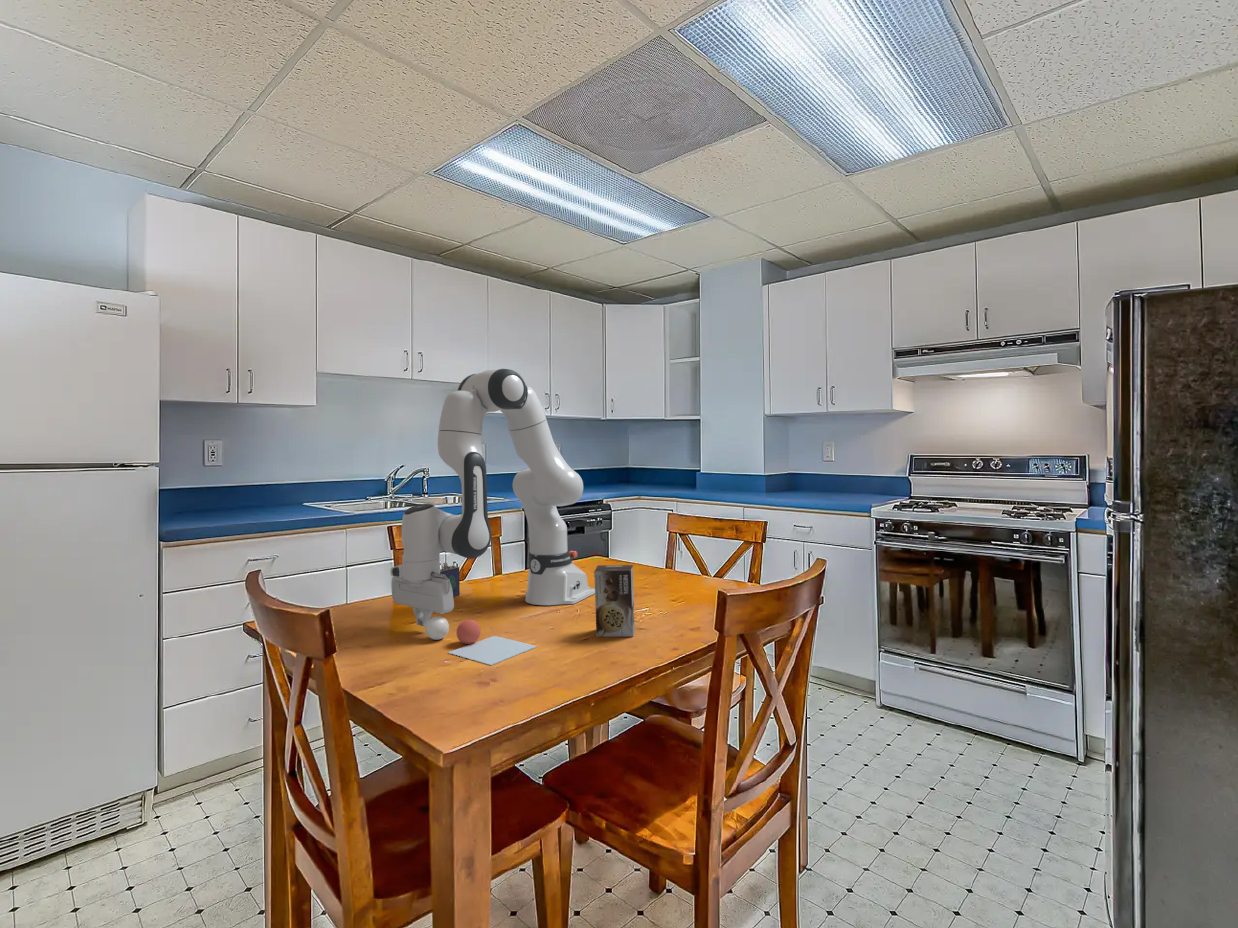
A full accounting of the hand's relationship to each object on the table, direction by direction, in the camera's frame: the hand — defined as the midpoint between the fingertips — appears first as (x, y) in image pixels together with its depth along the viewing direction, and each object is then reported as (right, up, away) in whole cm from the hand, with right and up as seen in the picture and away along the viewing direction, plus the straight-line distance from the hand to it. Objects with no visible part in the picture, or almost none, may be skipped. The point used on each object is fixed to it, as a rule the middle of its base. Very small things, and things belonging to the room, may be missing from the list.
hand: (423, 625), depth 157 cm
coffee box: (+48, -1, -4) cm, 48 cm away
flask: (-3, -1, +33) cm, 33 cm away
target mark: (+20, -2, -15) cm, 25 cm away
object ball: (+14, +1, -10) cm, 17 cm away
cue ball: (+5, +1, -6) cm, 8 cm away
